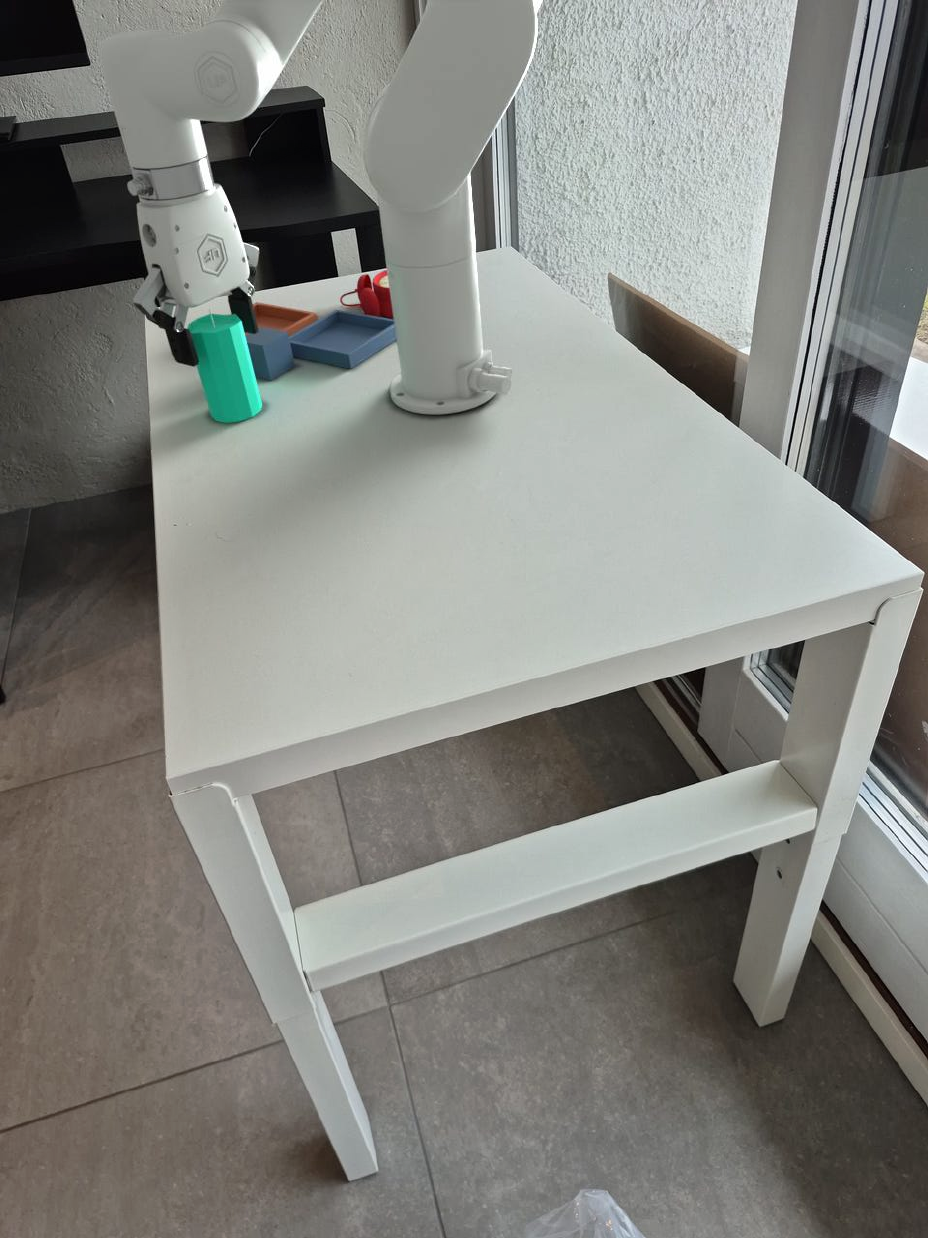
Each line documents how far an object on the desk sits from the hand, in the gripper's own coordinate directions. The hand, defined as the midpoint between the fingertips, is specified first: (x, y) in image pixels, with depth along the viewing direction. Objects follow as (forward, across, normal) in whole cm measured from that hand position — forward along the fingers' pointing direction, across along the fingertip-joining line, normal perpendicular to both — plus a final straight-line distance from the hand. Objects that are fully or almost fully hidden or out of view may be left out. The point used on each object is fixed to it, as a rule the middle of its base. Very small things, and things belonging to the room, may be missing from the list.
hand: (218, 346), depth 100 cm
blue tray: (+8, +20, 0) cm, 22 cm away
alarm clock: (+8, +33, +1) cm, 34 cm away
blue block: (+8, +10, +4) cm, 13 cm away
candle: (+8, 0, 0) cm, 8 cm away
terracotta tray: (+8, +18, +13) cm, 23 cm away
